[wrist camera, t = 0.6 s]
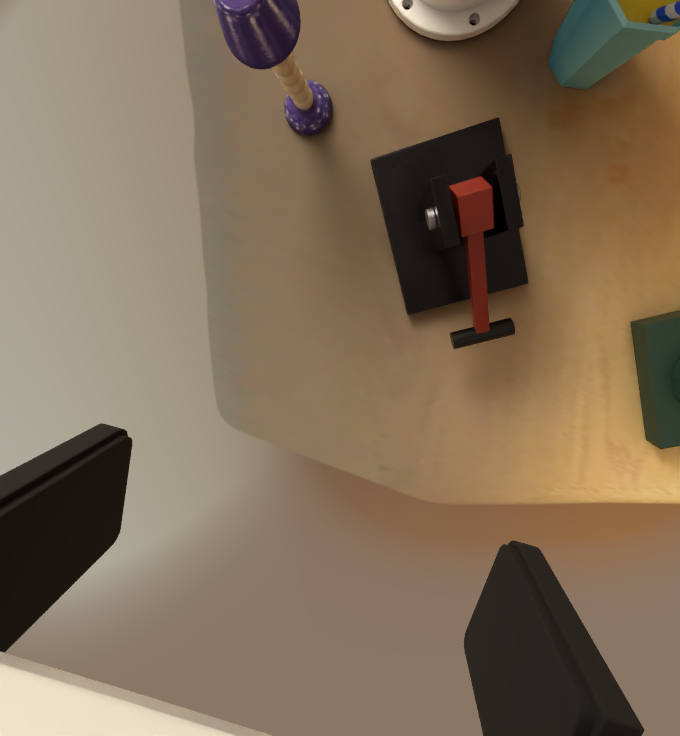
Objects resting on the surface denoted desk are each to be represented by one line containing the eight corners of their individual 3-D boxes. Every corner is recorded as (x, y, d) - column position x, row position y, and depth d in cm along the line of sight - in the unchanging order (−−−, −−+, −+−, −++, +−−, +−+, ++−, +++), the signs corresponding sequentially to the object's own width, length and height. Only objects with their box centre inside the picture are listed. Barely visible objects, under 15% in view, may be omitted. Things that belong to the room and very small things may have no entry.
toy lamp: (294, 148, 37) (225, 52, 21) (269, 99, 36) (176, -40, 20) (340, 118, 36) (305, -7, 20) (315, 67, 35) (256, -107, 19)
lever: (507, 324, 35) (517, 341, 33) (449, 339, 36) (456, 355, 34) (502, 168, 27) (515, 179, 25) (428, 192, 28) (435, 203, 26)
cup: (641, 142, 34) (835, 46, 19) (545, 168, 35) (660, 96, 21) (626, -50, 31) (839, -332, 17) (522, -15, 32) (635, -249, 18)
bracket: (523, 282, 37) (585, 287, 26) (407, 313, 39) (416, 330, 28) (494, 122, 35) (549, 49, 23) (370, 163, 36) (365, 113, 25)
